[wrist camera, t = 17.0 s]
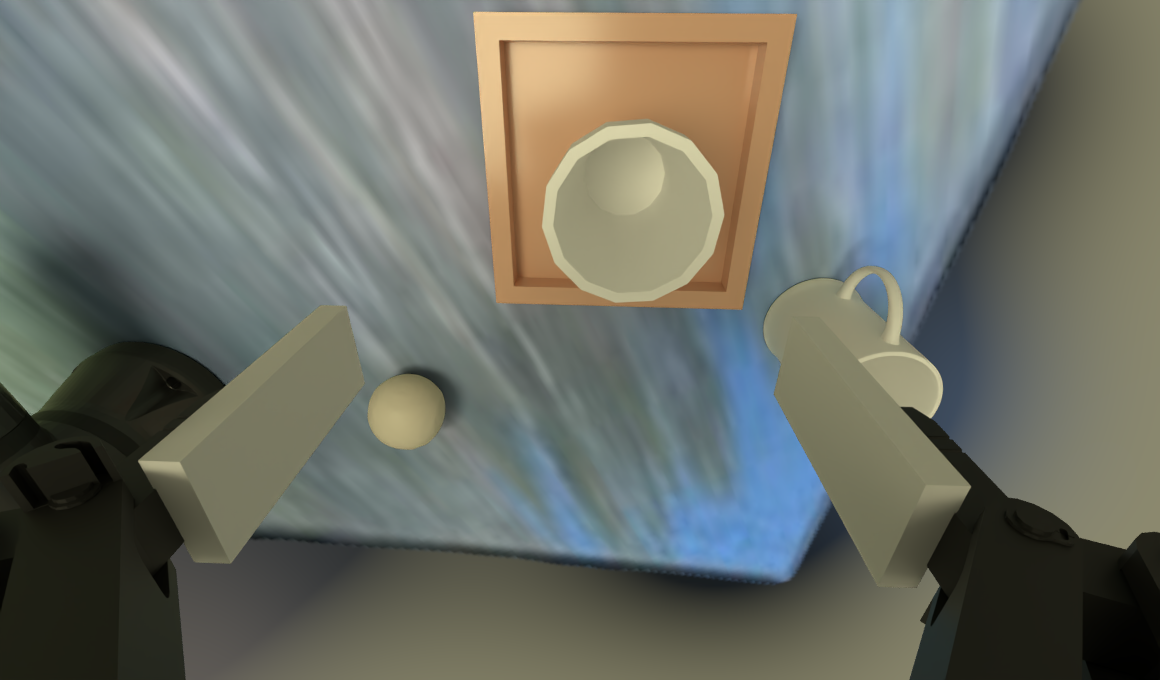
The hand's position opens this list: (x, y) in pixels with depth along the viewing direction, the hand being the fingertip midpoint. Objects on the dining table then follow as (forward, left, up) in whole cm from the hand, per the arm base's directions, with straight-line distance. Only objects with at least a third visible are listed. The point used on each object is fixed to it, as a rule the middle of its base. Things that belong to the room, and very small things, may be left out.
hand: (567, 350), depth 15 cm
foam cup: (+1, -3, -26) cm, 26 cm away
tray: (+1, -3, -27) cm, 27 cm away
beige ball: (-21, +17, -27) cm, 38 cm away
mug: (-10, -20, -27) cm, 35 cm away
